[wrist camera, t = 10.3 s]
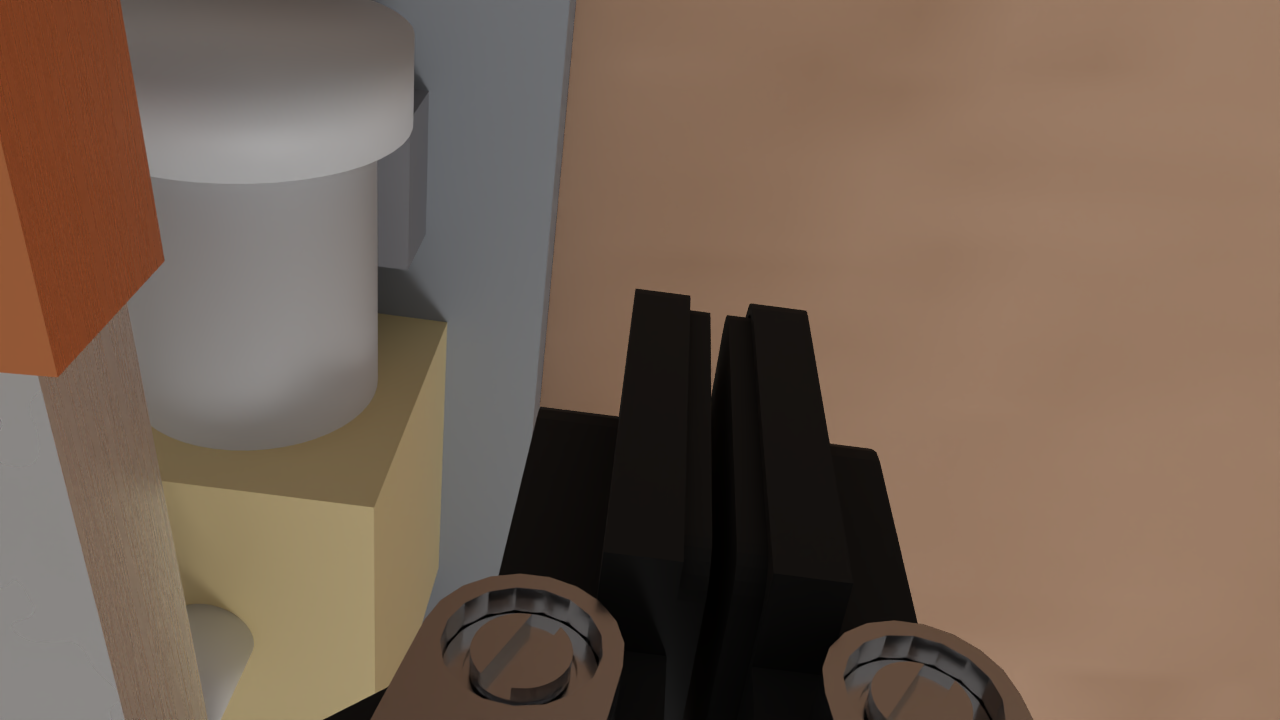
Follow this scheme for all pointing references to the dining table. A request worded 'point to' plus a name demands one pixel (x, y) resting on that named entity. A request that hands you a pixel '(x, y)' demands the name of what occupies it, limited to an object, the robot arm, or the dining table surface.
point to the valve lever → (80, 386)
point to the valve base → (342, 317)
